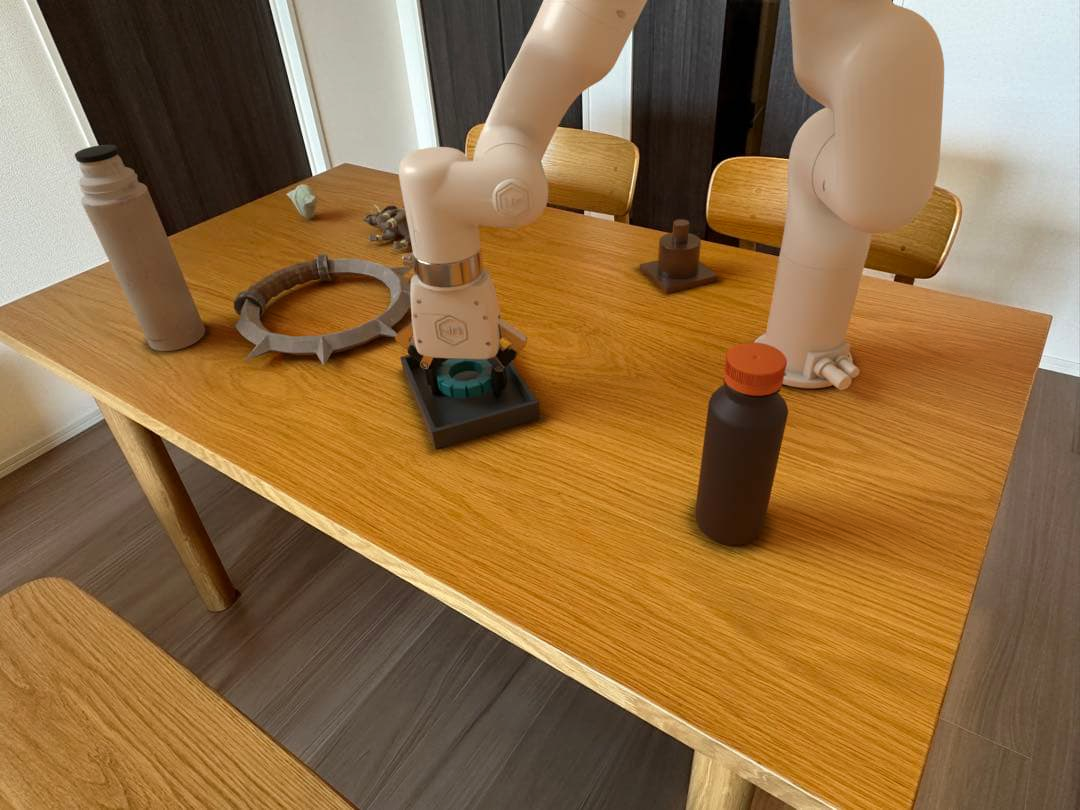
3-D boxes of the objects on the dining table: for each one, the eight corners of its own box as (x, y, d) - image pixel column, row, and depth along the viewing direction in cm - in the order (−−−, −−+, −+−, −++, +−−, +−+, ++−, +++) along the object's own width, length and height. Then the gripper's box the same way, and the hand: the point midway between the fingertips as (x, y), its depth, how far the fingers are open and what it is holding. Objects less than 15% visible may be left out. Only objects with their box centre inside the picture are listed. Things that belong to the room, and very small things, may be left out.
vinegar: (762, 553, 67) (799, 386, 54) (691, 540, 68) (711, 376, 56) (764, 502, 72) (798, 340, 59) (697, 492, 73) (717, 332, 61)
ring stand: (717, 281, 109) (723, 227, 104) (666, 293, 107) (670, 239, 101) (687, 258, 116) (691, 206, 110) (639, 269, 114) (641, 217, 108)
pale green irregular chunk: (289, 217, 139) (280, 184, 135) (306, 210, 142) (297, 178, 138) (314, 226, 135) (305, 192, 131) (331, 218, 138) (322, 185, 133)
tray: (539, 419, 85) (538, 402, 83) (435, 449, 81) (431, 432, 80) (495, 348, 97) (493, 333, 96) (403, 372, 94) (400, 356, 92)
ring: (504, 389, 86) (503, 378, 85) (446, 404, 84) (445, 394, 83) (486, 358, 92) (484, 348, 91) (431, 373, 90) (430, 362, 89)
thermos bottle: (138, 343, 104) (46, 155, 87) (183, 318, 109) (105, 136, 92) (171, 356, 100) (82, 163, 83) (216, 330, 106) (141, 143, 88)
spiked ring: (183, 336, 104) (311, 411, 90) (173, 310, 101) (302, 383, 87) (353, 252, 124) (479, 301, 110) (348, 228, 122) (477, 276, 107)
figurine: (334, 211, 127) (396, 181, 138) (343, 242, 130) (402, 211, 141) (417, 223, 117) (476, 190, 128) (424, 257, 120) (481, 222, 132)
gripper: (364, 278, 76) (394, 404, 87) (519, 281, 74) (530, 411, 85) (386, 248, 82) (412, 370, 93) (530, 250, 80) (539, 375, 90)
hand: (468, 389), depth 89 cm, fingers closed on ring, 7 cm apart
